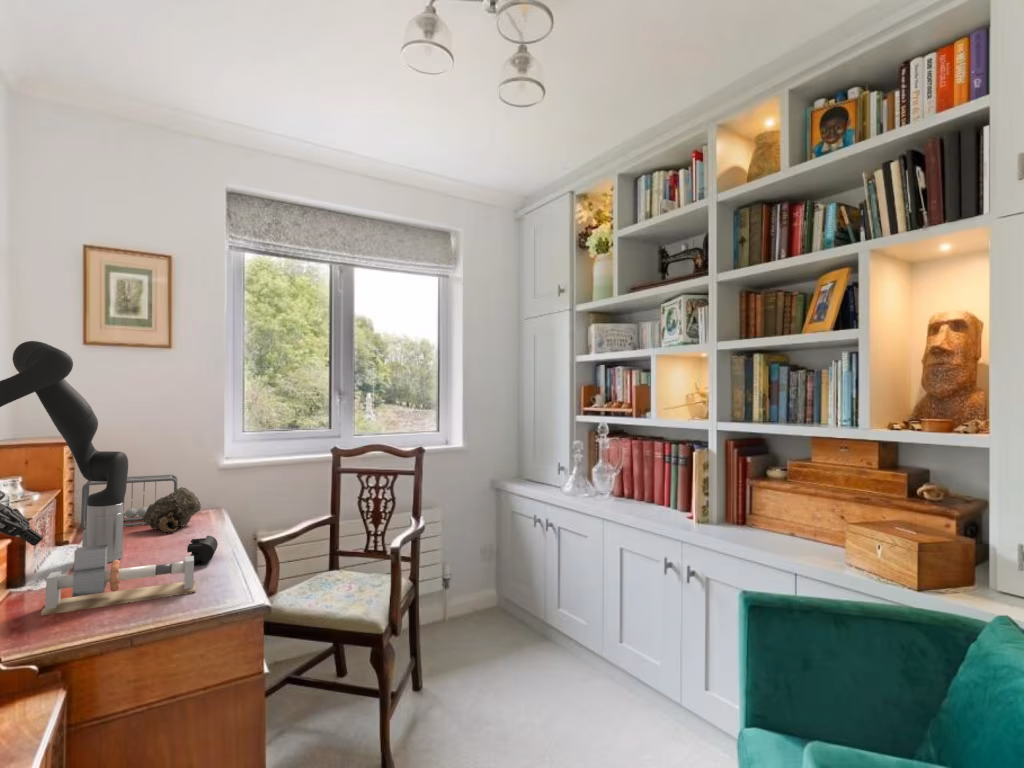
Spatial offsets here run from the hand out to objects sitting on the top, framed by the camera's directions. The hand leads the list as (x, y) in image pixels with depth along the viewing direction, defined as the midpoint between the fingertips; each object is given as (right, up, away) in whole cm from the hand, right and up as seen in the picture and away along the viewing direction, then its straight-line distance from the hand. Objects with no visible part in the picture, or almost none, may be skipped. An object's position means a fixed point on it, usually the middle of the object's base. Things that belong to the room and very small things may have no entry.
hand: (39, 542), depth 130 cm
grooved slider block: (+8, -13, +5) cm, 17 cm away
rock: (-16, -17, +75) cm, 79 cm away
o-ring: (+13, -14, +7) cm, 20 cm away
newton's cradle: (-36, -17, +83) cm, 92 cm away
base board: (+14, -17, +8) cm, 23 cm away
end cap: (+17, -18, +39) cm, 46 cm away
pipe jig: (+14, -17, +8) cm, 23 cm away
